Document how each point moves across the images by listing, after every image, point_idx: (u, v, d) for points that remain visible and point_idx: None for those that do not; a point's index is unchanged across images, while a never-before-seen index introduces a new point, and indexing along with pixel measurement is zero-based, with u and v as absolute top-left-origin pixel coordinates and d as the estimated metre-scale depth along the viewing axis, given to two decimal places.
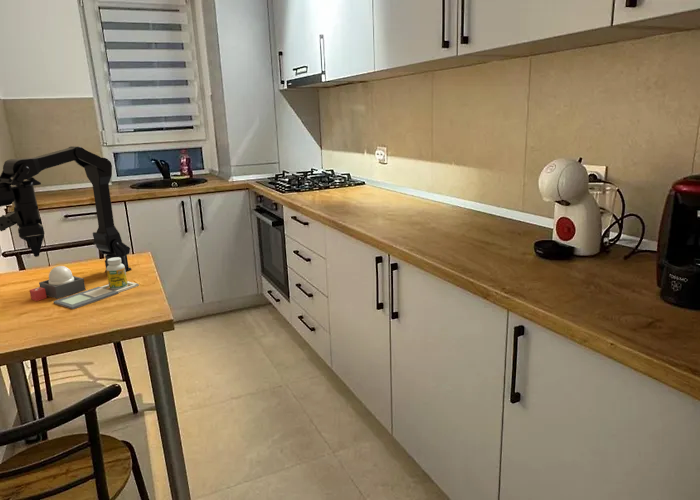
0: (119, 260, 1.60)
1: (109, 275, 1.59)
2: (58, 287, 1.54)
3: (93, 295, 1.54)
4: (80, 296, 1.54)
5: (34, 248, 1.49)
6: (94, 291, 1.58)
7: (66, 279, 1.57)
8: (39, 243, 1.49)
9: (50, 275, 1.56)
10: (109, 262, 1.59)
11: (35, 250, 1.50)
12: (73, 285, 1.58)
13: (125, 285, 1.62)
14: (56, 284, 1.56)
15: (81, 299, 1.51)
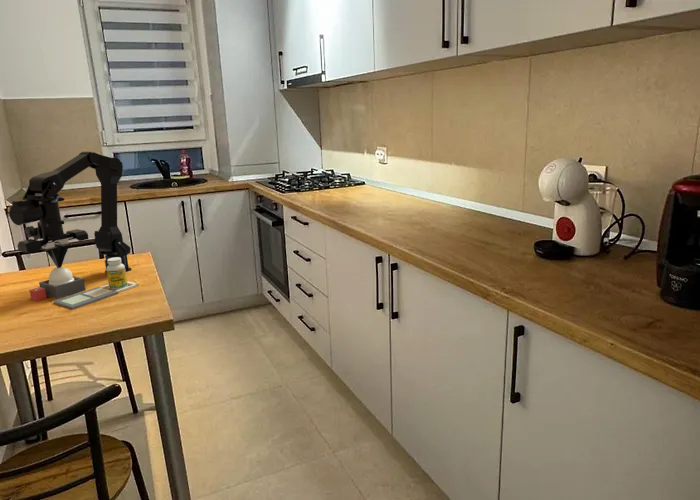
0: (119, 260, 1.60)
1: (109, 275, 1.59)
2: (58, 287, 1.54)
3: (93, 295, 1.54)
4: (80, 296, 1.54)
5: (53, 259, 1.56)
6: (94, 291, 1.58)
7: (66, 280, 1.57)
8: (54, 256, 1.55)
9: (50, 276, 1.56)
10: (109, 262, 1.59)
11: (54, 261, 1.57)
12: (73, 285, 1.58)
13: (125, 285, 1.62)
14: (56, 285, 1.56)
15: (81, 299, 1.51)
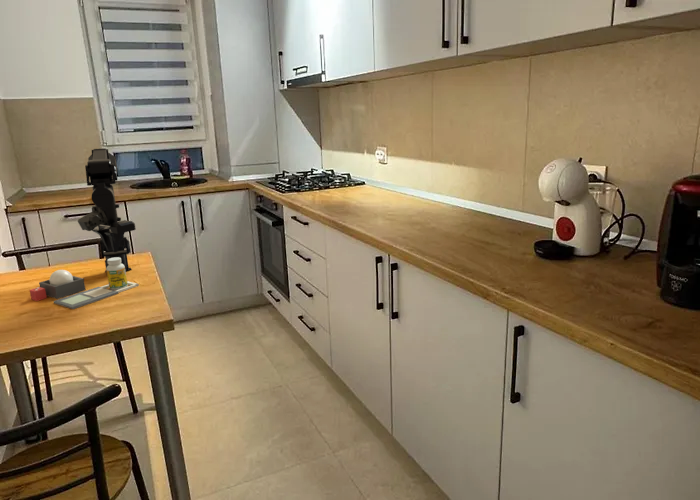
0: (119, 260, 1.60)
1: (109, 275, 1.59)
2: (58, 287, 1.54)
3: (93, 295, 1.54)
4: (80, 296, 1.54)
5: (115, 244, 1.58)
6: (94, 291, 1.58)
7: None
8: (120, 238, 1.58)
9: (51, 279, 1.56)
10: (109, 262, 1.59)
11: (116, 245, 1.58)
12: (73, 285, 1.58)
13: (125, 285, 1.62)
14: None
15: (81, 299, 1.51)
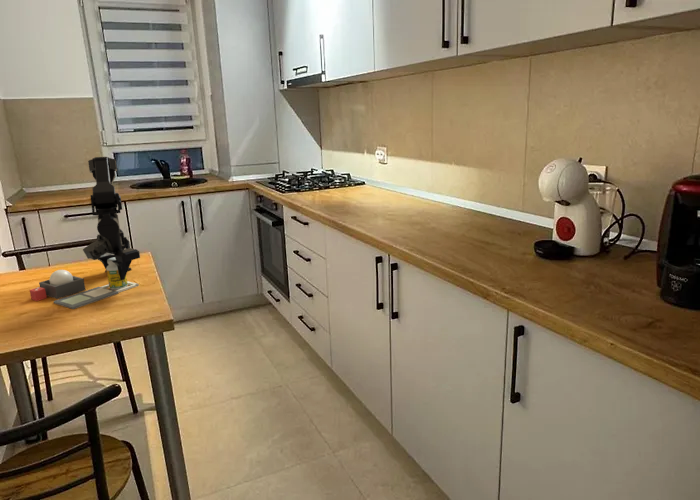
0: None
1: (109, 275, 1.59)
2: (58, 287, 1.54)
3: (93, 295, 1.54)
4: (80, 296, 1.54)
5: (123, 271, 1.59)
6: (94, 291, 1.58)
7: None
8: (127, 266, 1.60)
9: (51, 279, 1.56)
10: (109, 262, 1.59)
11: (123, 273, 1.60)
12: (73, 285, 1.58)
13: (125, 285, 1.62)
14: None
15: (81, 299, 1.51)
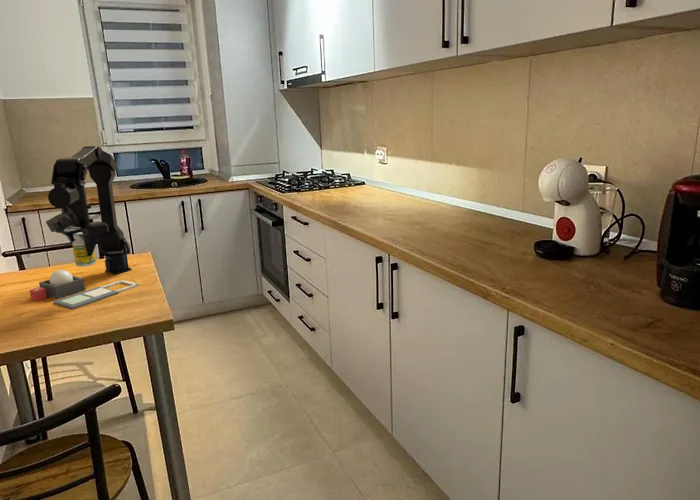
0: None
1: (75, 250, 1.49)
2: (58, 287, 1.54)
3: (93, 295, 1.54)
4: (80, 296, 1.54)
5: (90, 247, 1.49)
6: (94, 291, 1.58)
7: None
8: (95, 241, 1.50)
9: (51, 279, 1.56)
10: (75, 236, 1.48)
11: (90, 249, 1.49)
12: (73, 285, 1.58)
13: (93, 262, 1.52)
14: None
15: (81, 299, 1.51)
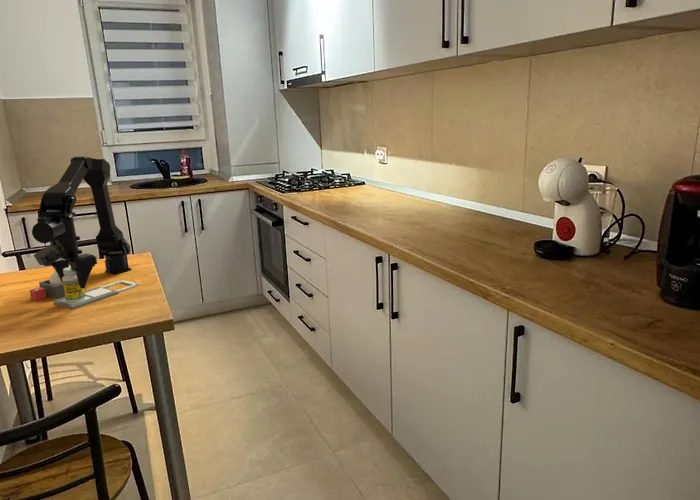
0: None
1: (65, 286, 1.48)
2: (58, 287, 1.54)
3: (93, 295, 1.54)
4: None
5: (82, 280, 1.47)
6: (94, 291, 1.58)
7: None
8: (87, 274, 1.47)
9: (51, 279, 1.56)
10: (65, 272, 1.47)
11: (83, 282, 1.47)
12: None
13: (83, 296, 1.51)
14: None
15: None
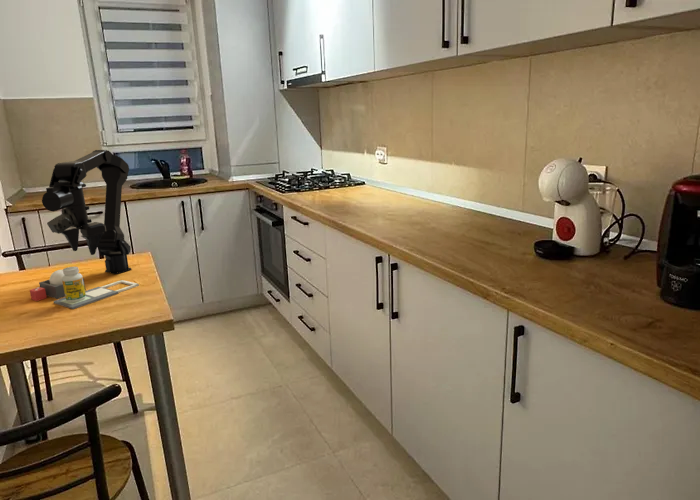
0: (76, 270, 1.49)
1: (65, 286, 1.48)
2: (58, 287, 1.54)
3: (93, 295, 1.54)
4: None
5: (92, 246, 1.57)
6: (94, 291, 1.58)
7: None
8: (97, 241, 1.58)
9: (51, 279, 1.56)
10: (65, 272, 1.47)
11: (93, 248, 1.58)
12: None
13: (83, 296, 1.51)
14: None
15: None
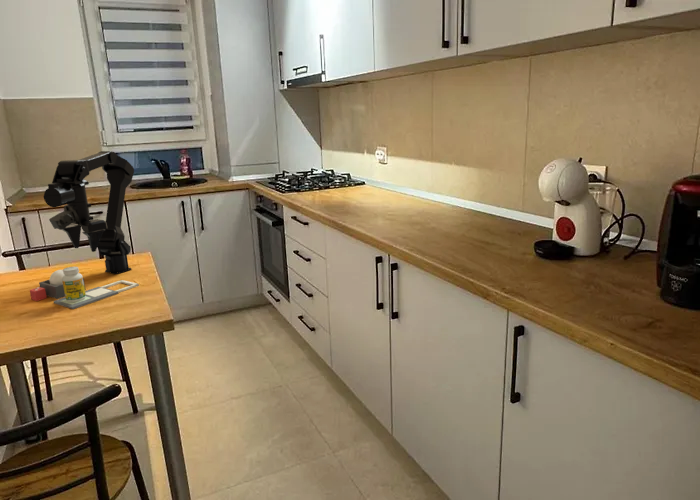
0: (76, 270, 1.49)
1: (65, 286, 1.48)
2: (58, 287, 1.54)
3: (93, 295, 1.54)
4: None
5: (93, 243, 1.59)
6: (94, 291, 1.58)
7: None
8: (98, 238, 1.59)
9: (51, 279, 1.56)
10: (65, 272, 1.47)
11: (94, 245, 1.59)
12: None
13: (83, 297, 1.51)
14: None
15: None
